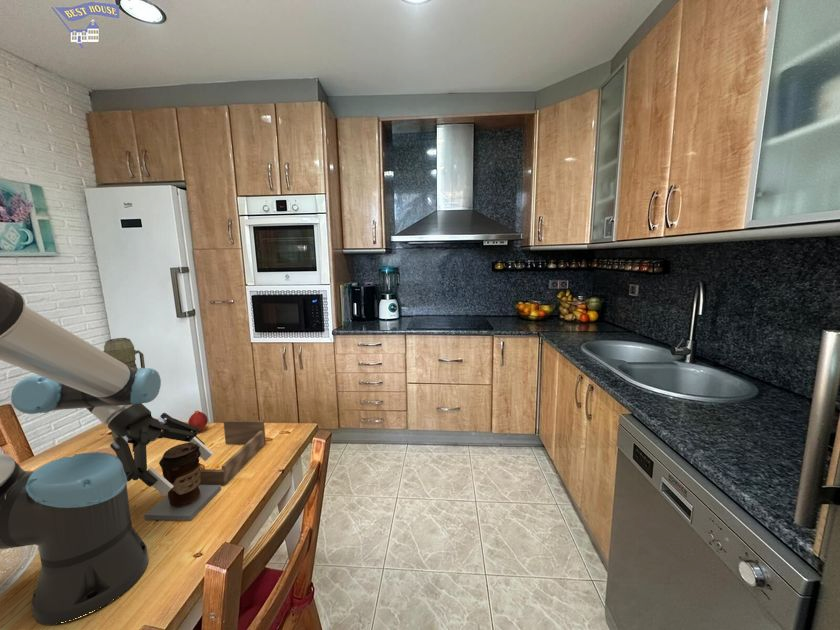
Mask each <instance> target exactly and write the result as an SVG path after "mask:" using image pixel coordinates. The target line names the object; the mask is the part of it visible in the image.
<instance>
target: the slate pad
mask: <svg viewBox="0 0 840 630" xmlns="http://www.w3.org/2000/svg"><path fill="white" fill-rule="evenodd" d="M198 488H199V489H200V493H201V494H200V496H199V497H198V498H197V499H196V500H195V501H194V502H192V503H190V504H188V505H185V506H182V507H176V508H175V507H172V506H171V505H170V503H169V499H168V494H166V495H165V496H164V497H163V498H162V499H161V500H160V501H158V502H157V504H155V505H154V506H153V507H151V508H150V509H149V510H148V511H147V512H146V513H144V514H143V516H144V517H143V518H144V520H146V521H150V520H151V521H152V520H153V521H189V522H190V521H192V520H193V519H194V518H195V517H196V516H197V515H198V514H200V512H201V511H202V510H203V509H204V508H205V506H207V504H208V503H210V502H211V501H212V500H213V498H214V497H215V496H216V495H217V494H218V493H219V492H220V491H221V489H222V486H221V485H199V486H198Z"/></svg>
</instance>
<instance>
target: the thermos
mask: <svg viewBox="0 0 840 630" xmlns="http://www.w3.org/2000/svg"><path fill="white" fill-rule="evenodd" d="M103 348H104V349H103V350H102V351H103V352H105V353H107V354H108V355H110V356H112V357H113V358H115V359H117V360H118V361H120V362H122V363H124V364H125V365H127V366H129V367H131V368H133V369H138V366H137V364H136V355H137V354H138V356H139V360H140V361H139V362H140V368H146V367H145V365H146V364H145V356H144V353H143V352H141V350H139V349H138V350H136V349H135V346H134V344H133V342H132V341H131V339H130V338H127V337H118V338H112V339H108V340H106V341H105V342H104V346H103ZM111 437H112V438H113V441H114V440H115V439H116V438H117V437H119V436H117V435H116V434H115V433H114V432H112V431H111ZM121 437H122V436H121Z"/></svg>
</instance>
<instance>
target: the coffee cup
mask: <svg viewBox="0 0 840 630" xmlns="http://www.w3.org/2000/svg"><path fill="white" fill-rule="evenodd" d="M199 448H200V447H199V446H198V444H194V443H189V442H184V443H181V444H177V445H175V446H172V447H170V448H169V449H167V450H166V451H165V452H164V453H163V456H162V457H161V458H160V460H159V462H158V465H159V466H160V467H161V471H162V476H163V477H164V478H165V479H166V480H167V481H168V482H170V483H171V484H172V485H173V486H174V487H173V488H172V489H171V490H170V491H169V492H168V493H167V495H168V499H169V503H170V505H171V506H172V507H175V508H176V507H182V506H185V505H188V504H190V503H192V502H194V501H195V500H196V499H197V498H198V497H199V496H200V494H201V493H200V489H199V488H198V486H199V484H200V482H201V480H200V469H202V468H201V466H202V465H201V463H200V458H201V457H200V456H201V452H200V450H199Z"/></svg>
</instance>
